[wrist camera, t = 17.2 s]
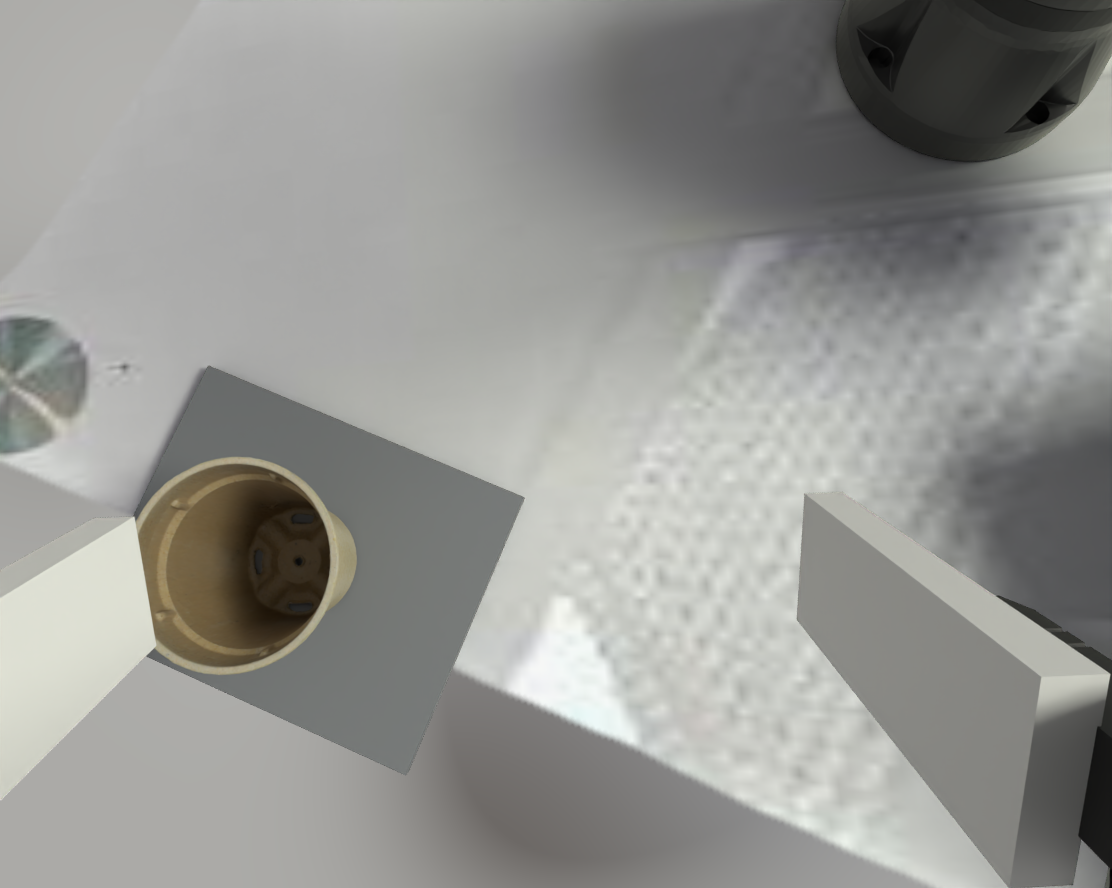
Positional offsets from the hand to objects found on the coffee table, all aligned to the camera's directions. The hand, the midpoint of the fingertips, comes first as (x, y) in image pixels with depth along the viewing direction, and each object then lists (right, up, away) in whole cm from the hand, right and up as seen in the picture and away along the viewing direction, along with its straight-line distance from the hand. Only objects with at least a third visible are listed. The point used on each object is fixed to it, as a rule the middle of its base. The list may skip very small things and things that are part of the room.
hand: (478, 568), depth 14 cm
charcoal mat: (-13, -4, +26) cm, 29 cm away
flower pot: (-12, -4, +25) cm, 29 cm away
